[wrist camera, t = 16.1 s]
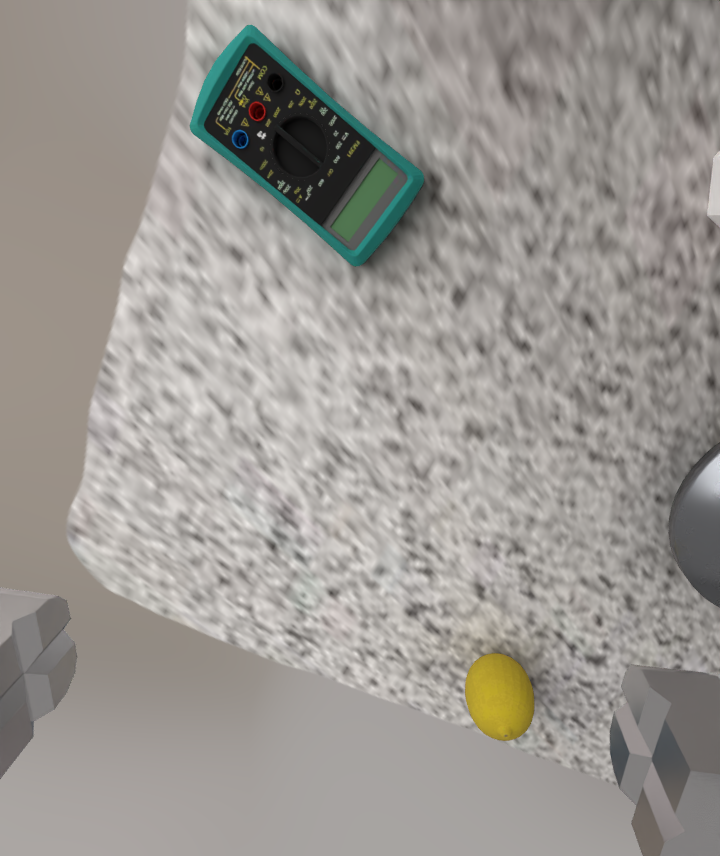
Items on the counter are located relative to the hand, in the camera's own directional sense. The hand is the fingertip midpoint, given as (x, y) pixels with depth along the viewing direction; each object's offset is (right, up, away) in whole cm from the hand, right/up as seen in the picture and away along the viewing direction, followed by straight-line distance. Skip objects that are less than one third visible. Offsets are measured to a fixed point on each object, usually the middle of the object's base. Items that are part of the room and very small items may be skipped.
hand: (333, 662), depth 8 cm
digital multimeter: (-3, +22, +30) cm, 37 cm away
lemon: (+12, -17, +41) cm, 47 cm away
